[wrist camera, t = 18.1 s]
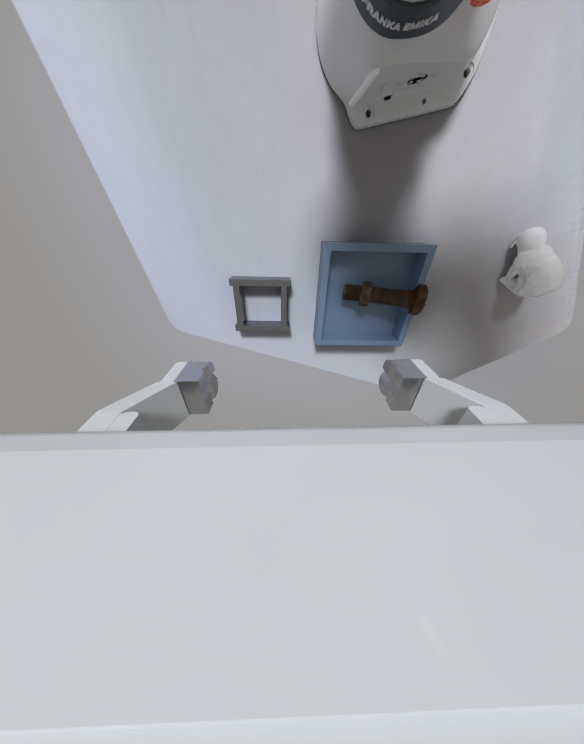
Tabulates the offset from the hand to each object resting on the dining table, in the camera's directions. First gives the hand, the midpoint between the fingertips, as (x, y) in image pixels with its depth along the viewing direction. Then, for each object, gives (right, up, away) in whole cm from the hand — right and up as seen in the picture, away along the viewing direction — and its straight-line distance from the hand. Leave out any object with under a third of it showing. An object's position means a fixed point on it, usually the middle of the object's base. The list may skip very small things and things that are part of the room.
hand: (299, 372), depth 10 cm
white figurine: (+45, +23, +33) cm, 61 cm away
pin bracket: (-7, +15, +37) cm, 41 cm away
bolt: (+10, +17, +33) cm, 39 cm away
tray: (+15, +17, +36) cm, 43 cm away
